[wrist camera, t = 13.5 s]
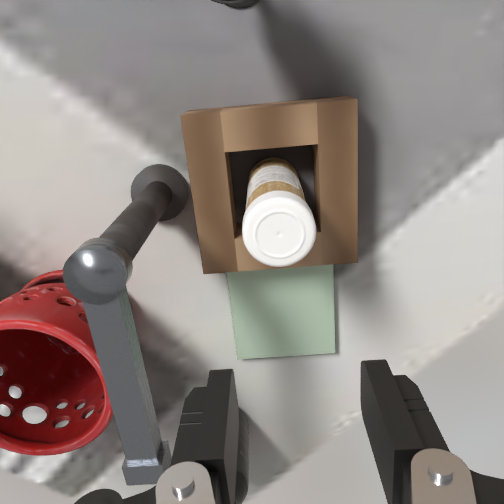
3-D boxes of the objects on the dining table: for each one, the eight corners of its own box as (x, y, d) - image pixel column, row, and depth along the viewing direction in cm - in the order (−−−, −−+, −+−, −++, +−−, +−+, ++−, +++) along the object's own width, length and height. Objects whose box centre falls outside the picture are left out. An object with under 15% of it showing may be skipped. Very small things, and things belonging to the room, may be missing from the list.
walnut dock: (148, 260, 42) (91, 359, 28) (119, 117, 37) (33, 149, 23) (348, 245, 41) (395, 339, 27) (347, 95, 36) (405, 115, 22)
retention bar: (70, 239, 25) (54, 253, 23) (126, 234, 24) (115, 248, 23) (130, 460, 31) (122, 485, 29) (175, 457, 31) (170, 482, 29)
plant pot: (100, 388, 48) (53, 484, 37) (-7, 317, 45) (-93, 399, 34) (174, 312, 45) (147, 393, 34) (64, 228, 41) (-8, 287, 30)
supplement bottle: (195, 448, 52) (177, 553, 40) (183, 402, 49) (160, 500, 38) (254, 442, 51) (252, 546, 40) (244, 395, 48) (240, 493, 37)
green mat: (237, 354, 46) (237, 359, 46) (226, 268, 43) (226, 271, 42) (333, 348, 46) (335, 353, 45) (331, 260, 42) (333, 263, 41)
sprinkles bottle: (290, 211, 40) (303, 277, 28) (241, 199, 40) (233, 259, 28) (305, 163, 39) (327, 209, 26) (254, 149, 38) (252, 189, 26)
